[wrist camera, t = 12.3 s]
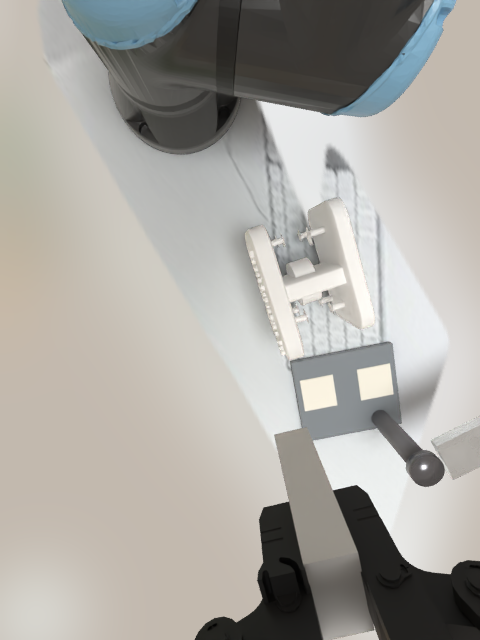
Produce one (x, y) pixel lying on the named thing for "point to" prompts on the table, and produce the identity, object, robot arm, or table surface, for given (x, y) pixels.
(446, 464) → the grey lever handle
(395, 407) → the label board
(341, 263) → the cable organizer
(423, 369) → the table surface
